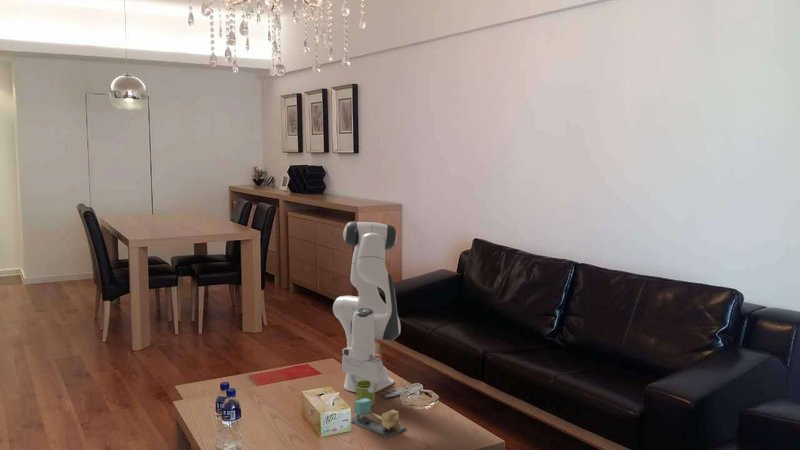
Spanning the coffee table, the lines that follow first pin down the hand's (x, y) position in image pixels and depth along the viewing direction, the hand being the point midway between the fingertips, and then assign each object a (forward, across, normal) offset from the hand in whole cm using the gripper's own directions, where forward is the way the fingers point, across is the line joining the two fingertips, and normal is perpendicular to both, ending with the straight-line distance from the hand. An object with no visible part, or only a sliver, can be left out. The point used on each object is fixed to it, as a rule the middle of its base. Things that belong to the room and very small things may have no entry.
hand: (362, 389), depth 251 cm
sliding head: (+11, 0, -1) cm, 11 cm away
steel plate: (+12, -8, -1) cm, 14 cm away
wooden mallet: (+11, -7, -1) cm, 13 cm away
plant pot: (+12, +10, -11) cm, 19 cm away
